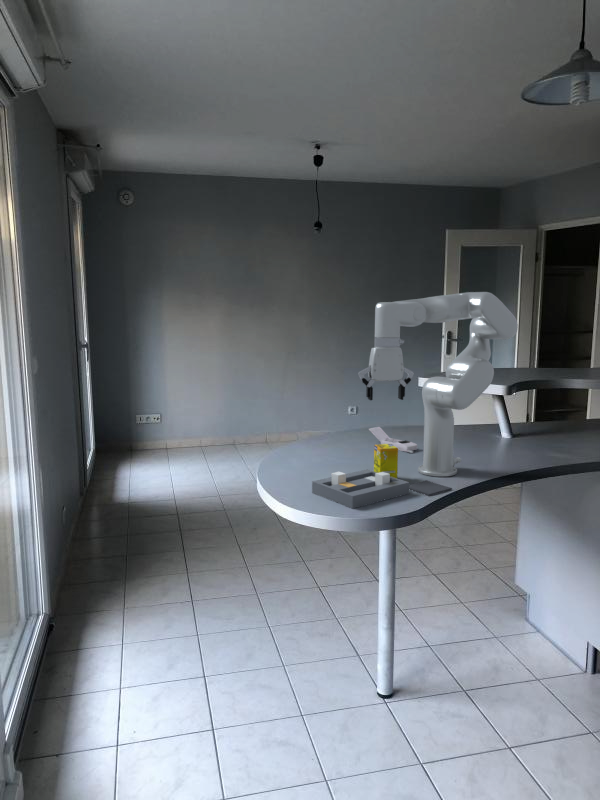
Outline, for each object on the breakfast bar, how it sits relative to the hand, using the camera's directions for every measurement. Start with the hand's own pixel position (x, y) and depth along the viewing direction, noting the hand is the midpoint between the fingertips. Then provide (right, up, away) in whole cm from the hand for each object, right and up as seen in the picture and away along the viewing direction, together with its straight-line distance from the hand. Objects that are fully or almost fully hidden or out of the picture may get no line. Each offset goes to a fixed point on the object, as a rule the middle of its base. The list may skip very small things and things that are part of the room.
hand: (385, 399), depth 192 cm
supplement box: (+1, -26, +7) cm, 27 cm away
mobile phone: (+10, -19, +52) cm, 56 cm away
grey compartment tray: (-8, -28, -7) cm, 30 cm away
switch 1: (-15, -25, -8) cm, 30 cm away
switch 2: (-2, -25, -8) cm, 27 cm away
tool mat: (+12, -27, -3) cm, 30 cm away
